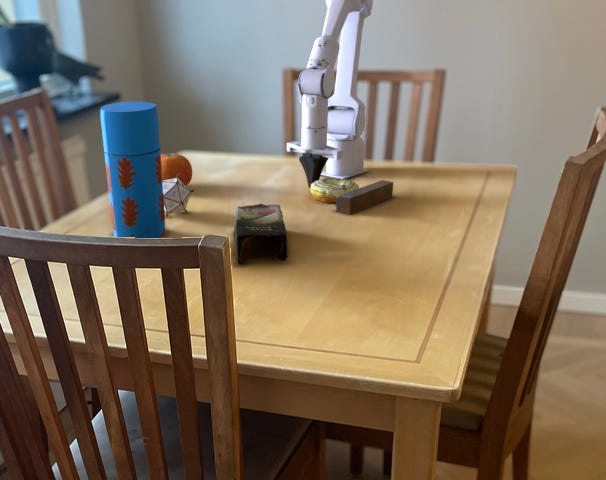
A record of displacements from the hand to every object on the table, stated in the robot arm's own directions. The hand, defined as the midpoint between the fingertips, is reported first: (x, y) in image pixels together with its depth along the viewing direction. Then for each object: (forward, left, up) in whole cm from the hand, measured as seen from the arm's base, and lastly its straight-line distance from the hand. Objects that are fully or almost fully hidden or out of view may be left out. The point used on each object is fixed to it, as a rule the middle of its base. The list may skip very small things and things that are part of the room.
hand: (313, 186), depth 183 cm
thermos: (+45, -9, -2) cm, 46 cm away
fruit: (+18, -29, -2) cm, 34 cm away
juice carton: (+35, +15, -2) cm, 38 cm away
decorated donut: (0, +6, -2) cm, 7 cm away
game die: (+31, -14, -2) cm, 34 cm away
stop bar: (0, +15, -1) cm, 15 cm away
